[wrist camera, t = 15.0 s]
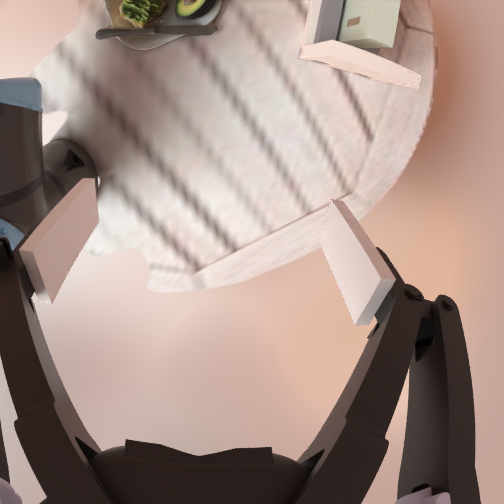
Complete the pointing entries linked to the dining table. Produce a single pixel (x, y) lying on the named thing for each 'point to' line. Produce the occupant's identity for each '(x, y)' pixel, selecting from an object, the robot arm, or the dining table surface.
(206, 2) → the salad plate
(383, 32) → the door panel
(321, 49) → the cabinet base
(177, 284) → the dining table surface
